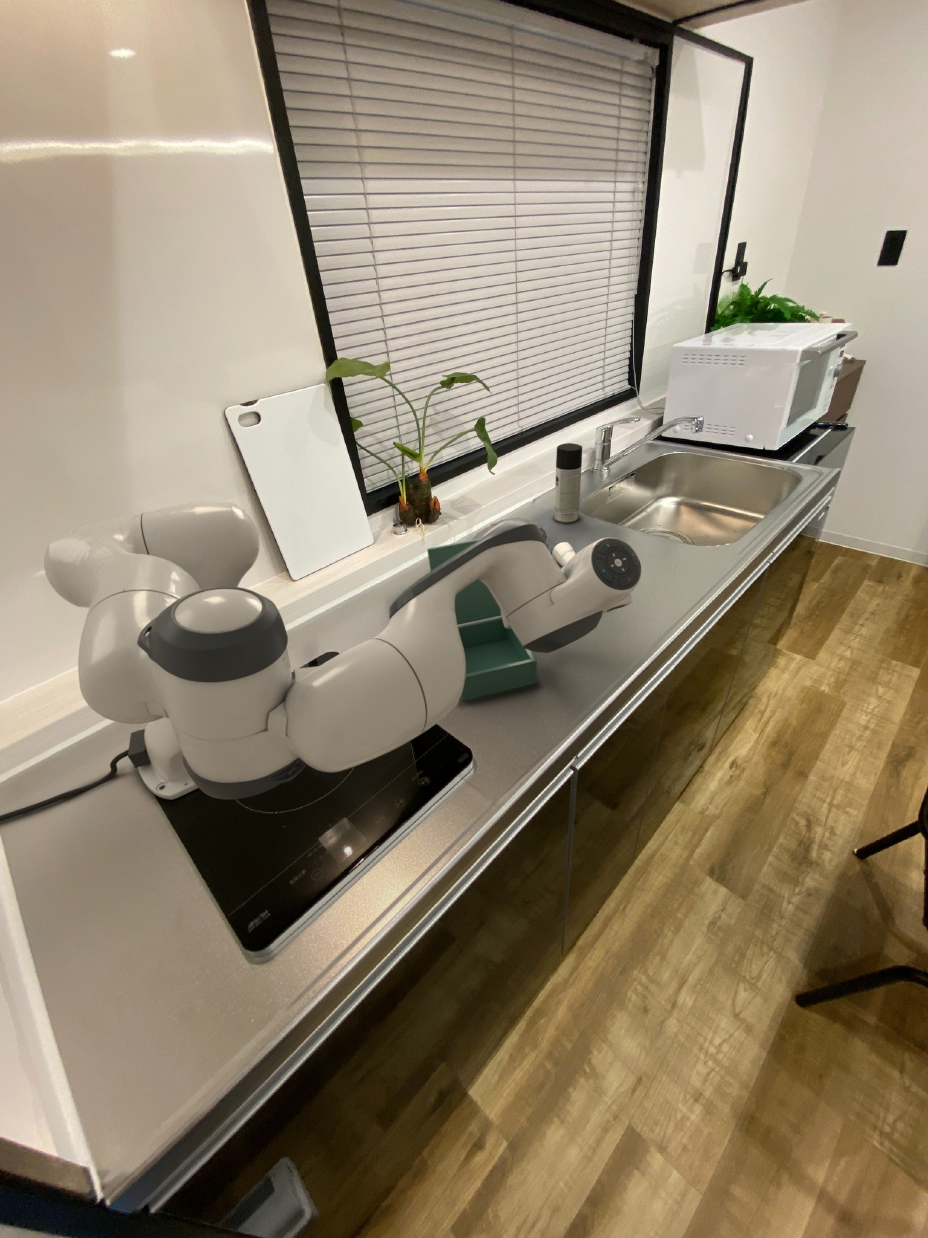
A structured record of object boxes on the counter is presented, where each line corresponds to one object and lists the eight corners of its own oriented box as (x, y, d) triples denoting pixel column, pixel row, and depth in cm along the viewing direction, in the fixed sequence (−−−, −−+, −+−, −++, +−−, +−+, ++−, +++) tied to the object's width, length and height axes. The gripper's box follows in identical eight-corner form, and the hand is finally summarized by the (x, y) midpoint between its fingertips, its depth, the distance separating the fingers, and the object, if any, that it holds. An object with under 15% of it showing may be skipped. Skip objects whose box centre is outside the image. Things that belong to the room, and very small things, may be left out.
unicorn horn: (589, 612, 110) (590, 592, 108) (551, 560, 130) (551, 542, 127) (610, 608, 111) (612, 588, 108) (569, 557, 130) (570, 539, 128)
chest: (536, 686, 93) (536, 660, 90) (462, 704, 91) (459, 678, 88) (509, 639, 105) (509, 614, 102) (443, 654, 103) (440, 629, 100)
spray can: (565, 511, 153) (567, 440, 141) (583, 517, 148) (587, 445, 137) (549, 518, 149) (550, 447, 138) (568, 525, 145) (570, 452, 133)
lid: (502, 535, 95) (500, 534, 95) (427, 549, 93) (427, 548, 93) (509, 613, 101) (508, 612, 102) (440, 628, 99) (439, 627, 100)
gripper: (516, 628, 79) (498, 643, 92) (642, 600, 82) (607, 619, 95) (505, 588, 80) (489, 608, 93) (630, 562, 83) (597, 585, 96)
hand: (550, 613), depth 94 cm, fingers closed on pepper mill, 4 cm apart
